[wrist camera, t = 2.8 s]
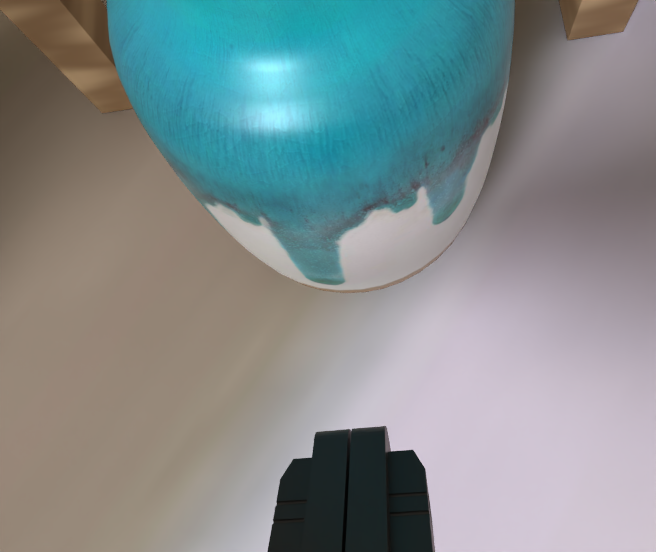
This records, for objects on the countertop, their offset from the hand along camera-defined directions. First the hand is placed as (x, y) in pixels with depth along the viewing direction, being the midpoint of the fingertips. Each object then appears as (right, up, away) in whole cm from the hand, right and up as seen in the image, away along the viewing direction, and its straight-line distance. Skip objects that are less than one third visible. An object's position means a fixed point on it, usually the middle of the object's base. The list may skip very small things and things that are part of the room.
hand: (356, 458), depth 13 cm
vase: (+1, +7, +15) cm, 16 cm away
